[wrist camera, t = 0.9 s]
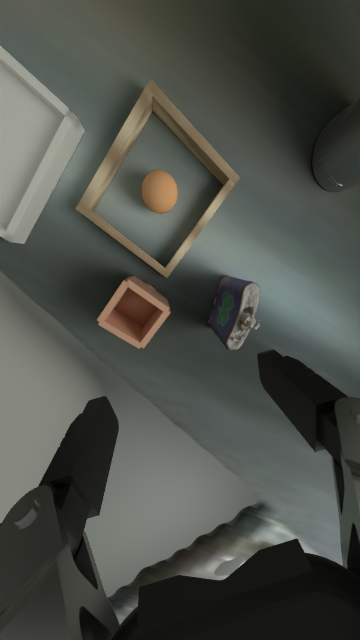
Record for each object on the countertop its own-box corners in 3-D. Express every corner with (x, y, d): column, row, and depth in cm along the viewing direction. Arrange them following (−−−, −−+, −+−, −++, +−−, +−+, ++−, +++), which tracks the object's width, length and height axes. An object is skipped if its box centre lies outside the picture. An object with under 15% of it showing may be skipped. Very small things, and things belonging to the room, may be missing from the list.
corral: (150, 95, 22) (150, 78, 20) (233, 184, 26) (239, 177, 24) (82, 213, 25) (75, 208, 23) (166, 276, 29) (167, 278, 27)
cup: (132, 272, 28) (125, 276, 21) (169, 298, 30) (173, 310, 23) (107, 308, 29) (93, 322, 23) (144, 332, 31) (142, 351, 25)
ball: (155, 170, 24) (155, 151, 20) (182, 195, 26) (187, 183, 21) (136, 200, 25) (132, 189, 21) (163, 223, 26) (164, 216, 22)
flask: (220, 274, 30) (254, 282, 20) (237, 278, 30) (278, 287, 20) (205, 327, 32) (228, 357, 22) (221, 329, 33) (250, 361, 23)
